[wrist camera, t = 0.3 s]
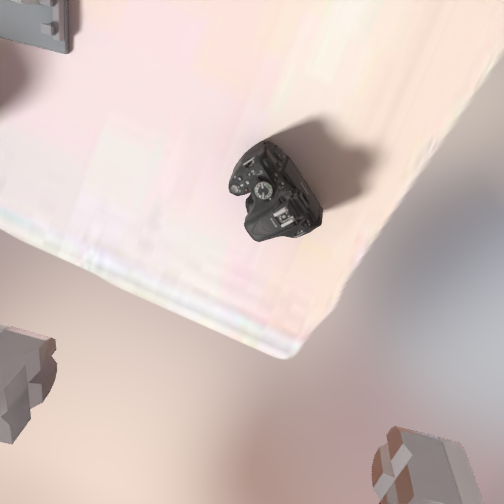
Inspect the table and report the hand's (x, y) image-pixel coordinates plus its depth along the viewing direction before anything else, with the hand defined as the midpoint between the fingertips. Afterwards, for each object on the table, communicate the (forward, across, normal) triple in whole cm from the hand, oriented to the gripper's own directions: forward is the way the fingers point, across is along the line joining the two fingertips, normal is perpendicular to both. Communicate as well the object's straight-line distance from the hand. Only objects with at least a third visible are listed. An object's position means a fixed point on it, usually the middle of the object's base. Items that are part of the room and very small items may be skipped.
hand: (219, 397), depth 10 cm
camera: (+47, -1, +12) cm, 48 cm away
